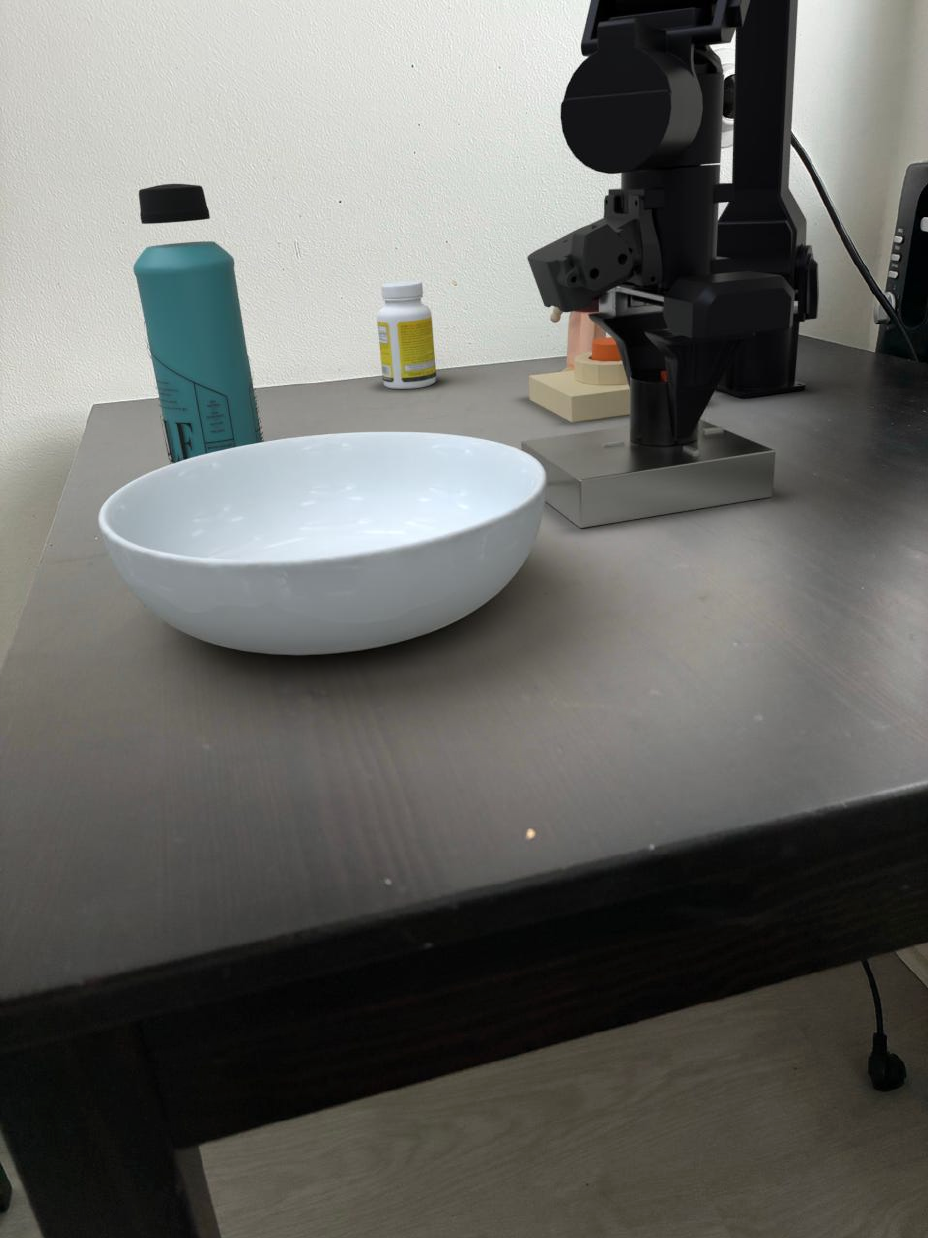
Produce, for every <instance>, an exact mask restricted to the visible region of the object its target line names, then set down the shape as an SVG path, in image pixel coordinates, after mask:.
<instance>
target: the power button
mask: <svg viewBox="0 0 928 1238" xmlns="http://www.w3.org/2000/svg"><path fill="white" fill-rule="evenodd" d="M592 360H595V361H622V360H621V356H620V353H619V350H618V347H617V344H616V342H615V340H614V339H613V338H612V337H611V336H609V337H606V338H600V339H596V340H593V341H592Z"/></svg>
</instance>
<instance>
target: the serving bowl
mask: <svg viewBox="0 0 928 1238" xmlns="http://www.w3.org/2000/svg"><path fill="white" fill-rule="evenodd" d="M546 488H547V474H546V471H545V469H544V467H543V466H542V465H541V463H540V462H539V461H538V460H537V459H535V458H534V457H533V456H531V455H530V454H528V453H526V452H524V451H521V449H519V448H517V447H515V446H512V445H508V444H505V443H501V442H497V441H494V440H488V439H485V438H479V437H474V436H468V435H467V436H465V435H460V434H459V435H458V434H448V433H439V432H422V431H417V432H416V431H364V432H363V431H361V432H359V431H358V432H357V431H356V432H344V433H343V432H339V433H326V434H315V435H303V436H297V437H287V438H279V439H275V440H269V441H267V440H266V441H263V442H261V443H256V444H250V445H245V446H240V447H235V448H230V449H226V450H221V451H217V452H212V453H208V454H204V455H200V456H196V457H193V458H189V459H186V460H183V461H180V462H177V463H174V464H172V463H171V464H168V465H165V466H163V467H160V468H157V469H155V470H152V471H150V472H147V473H146V474H144V475H141V476H140V477H137V478H136V479H134V480H132V481H130V482H129V483H126V484H125V485H123V486H122V487H120V488H119V489H118V490H116V491H115V492H114V493H112V494H111V495H109V497H108V498H107V499H106V501H104V503H103V504H102V506H101V508H100V510H99V513H98V518H97V522H98V527H99V531H100V534H101V536H102V539H103V542H104V544H105V546H106V549H107V552H108V555H109V557H110V559H111V561H112V563H113V565H114V568H115V570H116V571H117V573H118V575H119V577H120V578H121V579H122V582H123V583H124V584H125V585H126V587H127V588H128V590H129V591H130V592H131V593H132V595H133V596H134V597H135V598H136V599H137V600H138V601H139V602H140V603H141V604H142V605H143V606H144V607H145V608H147V610H149V611H150V612H151V613H152V614H153V615H155V616H156V617H157V618H159V619H160V620H161V621H163V622H165V623H167V625H169V626H171V627H172V628H174V629H176V630H178V631H180V632H182V633H184V634H186V635H189V637H193V638H195V639H198V640H200V641H203V642H206V643H209V644H212V645H216V646H221V647H223V648H224V647H225V648H228V649H232V650H237V651H243V652H248V653H257V654H266V655H283V656H285V655H286V656H310V655H315V656H316V655H329V654H340V653H350V652H358V651H364V650H365V651H366V650H369V649H375V648H381V647H385V646H389V645H393V644H397V643H401V642H405V641H408V640H413V639H414V638H417V637H421V636H424V635H427V634H430V633H433V632H435V631H437V630H440V629H442V628H444V627H446V626H449V625H451V624H454V623H455V622H457V621H459V620H462V619H463V618H465V617H466V616H468V615H470V614H472V613H474V612H475V611H477V610H478V609H480V608H481V607H482V606H483V605H485V604H486V603H488V602H489V601H490V600H491V599H494V597H495V596H497V595H498V594H499V593H500V592H501V591H502V590H503V589H504V588H505V587H506V586H507V585H508V584H509V583H510V582H511V581H512V579H513V578H514V577H515V576H516V575H517V573H518V572H519V570H520V569H521V567H522V566H523V565H524V563H525V562H526V560H527V558H528V556H529V555H530V553H531V552H532V549H533V547H534V545H535V542H536V540H537V538H538V534H539V532H540V527H541V524H542V520H543V515H544V510H545V503H546V501H545V497H546Z"/></svg>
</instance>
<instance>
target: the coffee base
mask: <svg viewBox="0 0 928 1238" xmlns="http://www.w3.org/2000/svg"><path fill="white" fill-rule="evenodd" d="M562 371H563V370H562ZM562 371H555V372H549V373H540V374H539V373H538V374H531V375H528V389H529V390H528V392H529V401H532V402H534V403H535V404H537V405H538V406H541V407H543V408H545V409H547V410H548V411H550V412H552V413H554V414H555V415H558V416H559V417H561V418H563V419H565V420H566V421H568V422H571V423H576V422H584V421H591V420H599V419H605V418H613V417H620V416H630V387H629V384H628V380H627V377H626V373H625V370H624V366H623V363H622V361H595V360H592V352H588V353H584V354H581V355H577V356H576V358H575V359H574V370H571V371H563V372H562Z"/></svg>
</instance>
